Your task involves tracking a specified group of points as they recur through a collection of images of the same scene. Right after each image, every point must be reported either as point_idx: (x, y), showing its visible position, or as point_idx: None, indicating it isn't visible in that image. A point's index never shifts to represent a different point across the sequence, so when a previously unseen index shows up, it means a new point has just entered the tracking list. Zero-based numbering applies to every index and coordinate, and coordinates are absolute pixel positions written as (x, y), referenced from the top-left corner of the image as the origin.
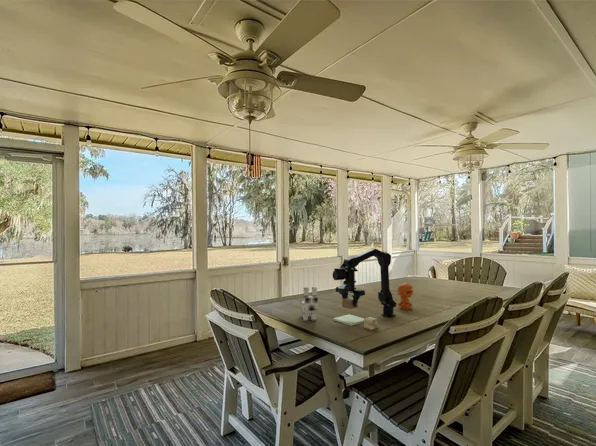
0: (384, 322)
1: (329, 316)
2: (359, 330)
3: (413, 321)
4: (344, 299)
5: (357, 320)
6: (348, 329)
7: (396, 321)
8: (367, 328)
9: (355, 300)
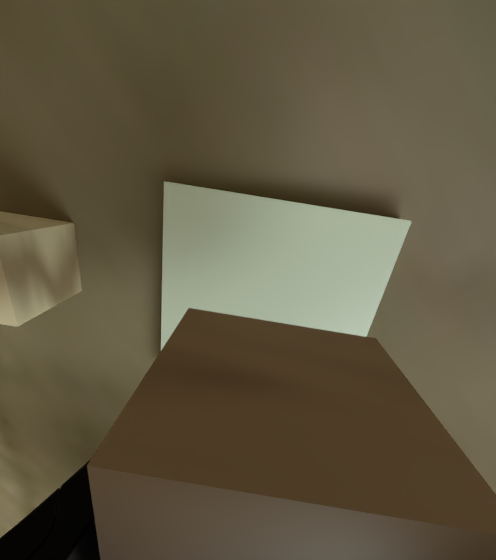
0: (79, 403)
1: (486, 298)
2: (34, 114)
3: (10, 484)
4: (393, 500)
5: (188, 307)
6: (114, 54)
7: (55, 448)
8: (40, 218)
9: (37, 538)
